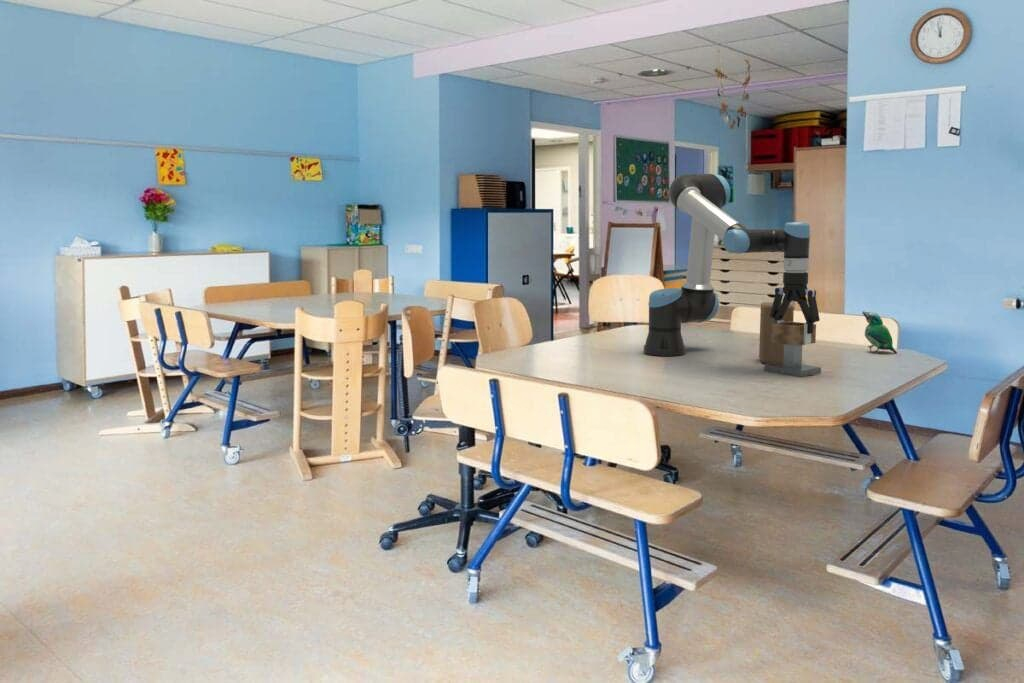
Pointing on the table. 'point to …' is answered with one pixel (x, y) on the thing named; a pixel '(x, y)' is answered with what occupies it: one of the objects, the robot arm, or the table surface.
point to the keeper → (792, 363)
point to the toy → (877, 332)
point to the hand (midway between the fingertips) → (793, 342)
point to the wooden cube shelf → (790, 333)
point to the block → (767, 349)
